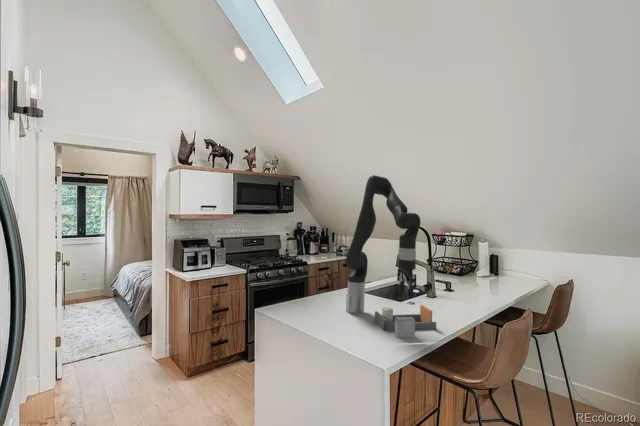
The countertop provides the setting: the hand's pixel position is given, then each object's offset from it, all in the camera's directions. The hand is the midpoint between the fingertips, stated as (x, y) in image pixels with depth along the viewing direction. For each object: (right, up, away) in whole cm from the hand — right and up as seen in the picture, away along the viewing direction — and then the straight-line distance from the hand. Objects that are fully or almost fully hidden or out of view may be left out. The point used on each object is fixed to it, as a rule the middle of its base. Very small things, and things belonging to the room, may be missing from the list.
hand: (405, 294), depth 144 cm
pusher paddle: (+14, -18, +16) cm, 28 cm away
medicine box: (-1, -19, 0) cm, 19 cm away
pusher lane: (+3, -19, +14) cm, 24 cm away
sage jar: (-6, -18, +12) cm, 23 cm away
